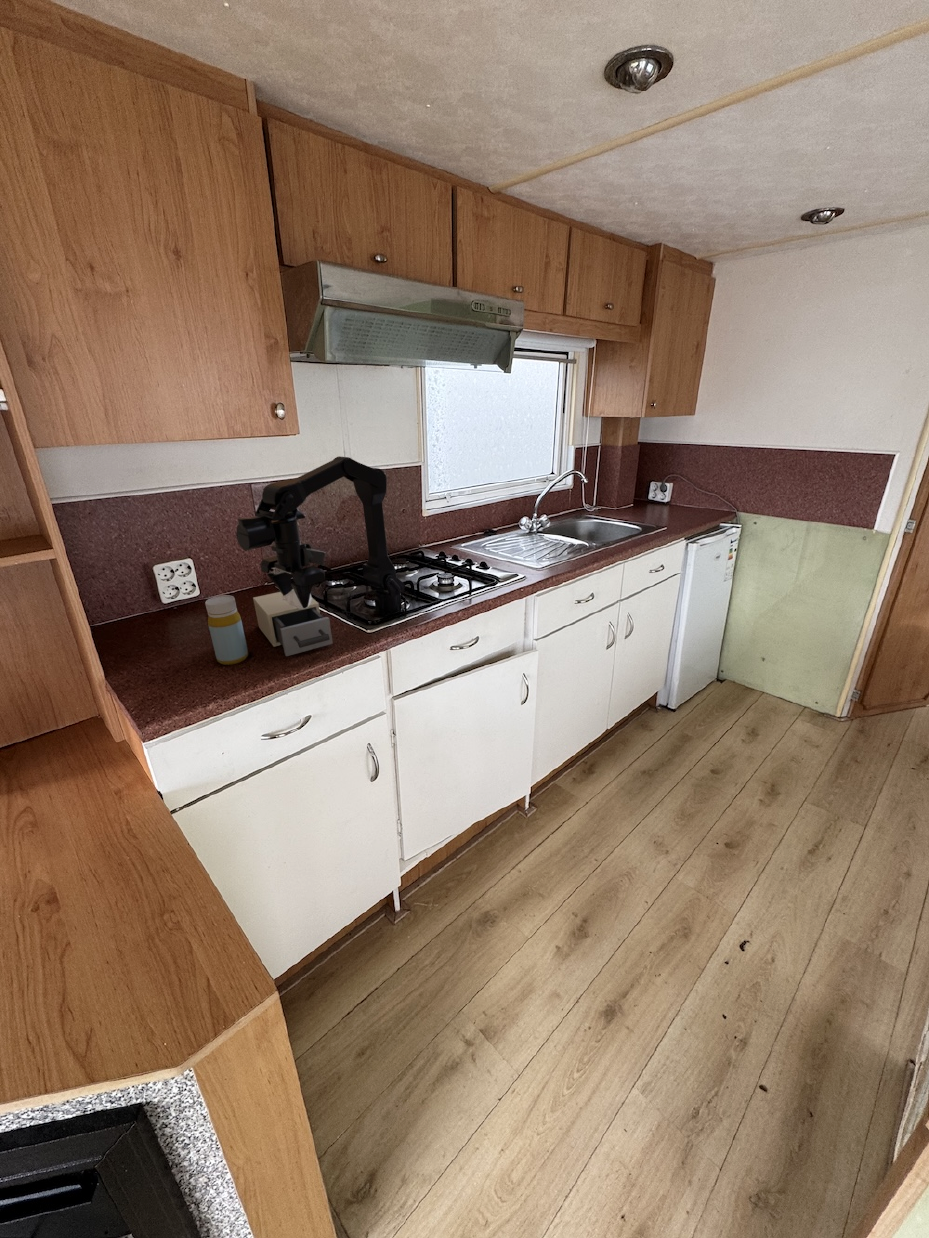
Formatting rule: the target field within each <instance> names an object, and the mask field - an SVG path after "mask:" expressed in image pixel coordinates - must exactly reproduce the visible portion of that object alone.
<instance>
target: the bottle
mask: <svg viewBox="0 0 929 1238" xmlns="http://www.w3.org/2000/svg"><path fill="white" fill-rule="evenodd" d="M204 604H205V608H206V612H207V615H208V617H207V626H208V629H209V633H210V638H211V642H212V647H213V651H214V655H215V658H216V662H218V663H219V664H221V665H224V666H232V665H236V664H240V663H242V662H244V661H245V660H247V658H248V656H249V650H248V645H247V640H246V636H245V630H244V626H243V622H242V618H241V614H240V613H239V611H238V608H237V603H236V599H235V597H234V595H229V594H225V595H216V596H213V597H210V598H208V599H207V600H206V601H205V603H204Z"/></svg>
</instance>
